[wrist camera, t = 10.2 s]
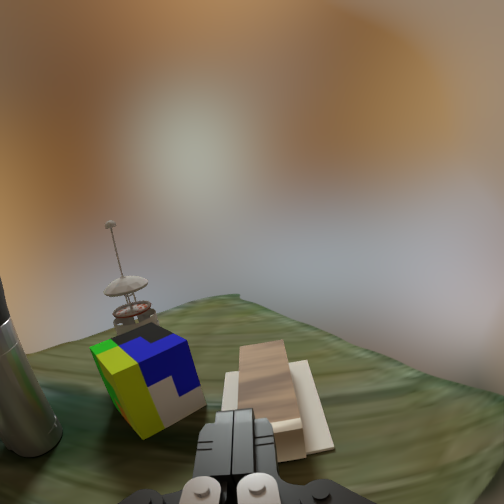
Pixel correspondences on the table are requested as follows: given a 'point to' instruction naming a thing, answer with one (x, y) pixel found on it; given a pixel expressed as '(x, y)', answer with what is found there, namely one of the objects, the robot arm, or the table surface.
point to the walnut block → (272, 395)
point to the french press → (130, 310)
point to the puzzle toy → (149, 377)
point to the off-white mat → (307, 401)
